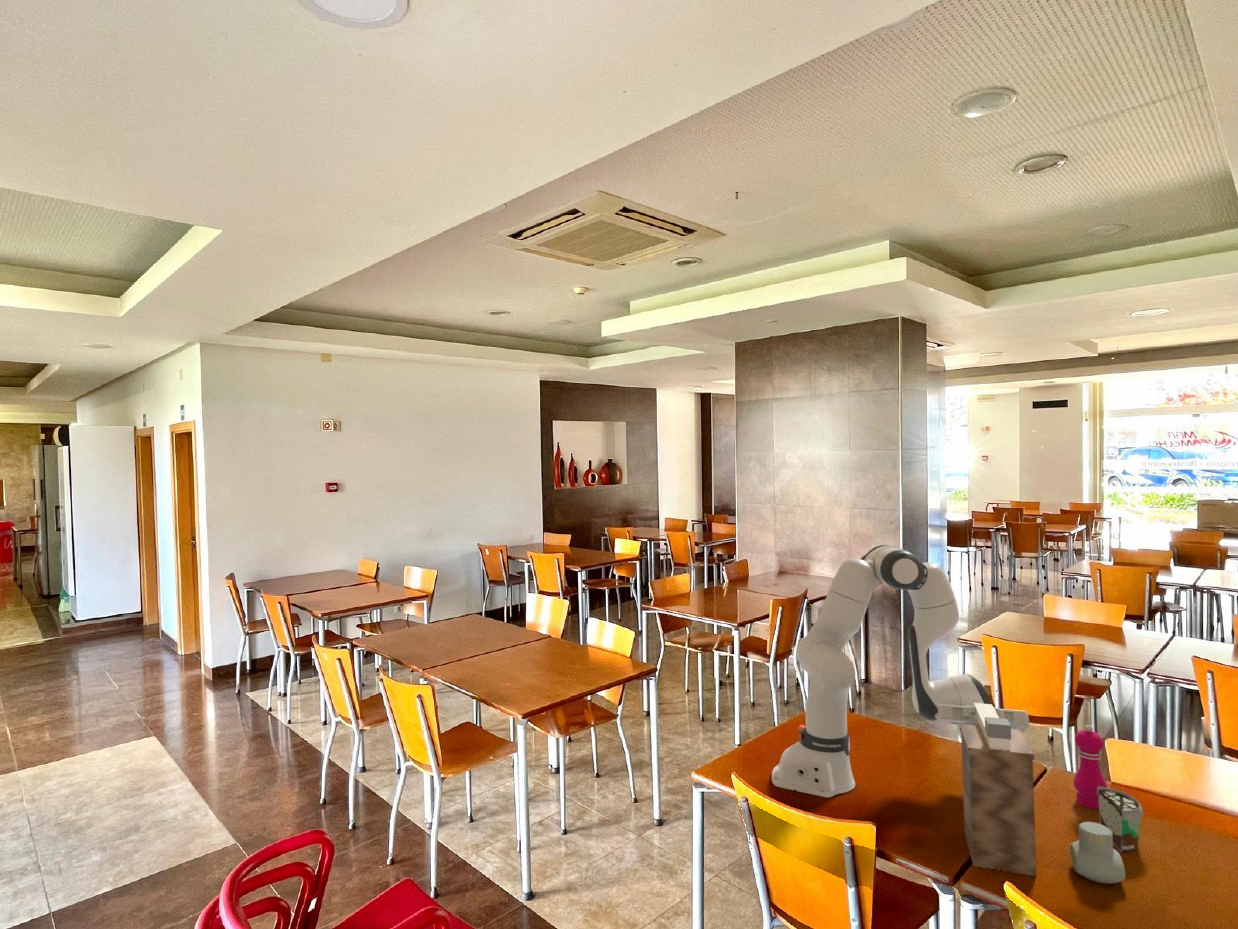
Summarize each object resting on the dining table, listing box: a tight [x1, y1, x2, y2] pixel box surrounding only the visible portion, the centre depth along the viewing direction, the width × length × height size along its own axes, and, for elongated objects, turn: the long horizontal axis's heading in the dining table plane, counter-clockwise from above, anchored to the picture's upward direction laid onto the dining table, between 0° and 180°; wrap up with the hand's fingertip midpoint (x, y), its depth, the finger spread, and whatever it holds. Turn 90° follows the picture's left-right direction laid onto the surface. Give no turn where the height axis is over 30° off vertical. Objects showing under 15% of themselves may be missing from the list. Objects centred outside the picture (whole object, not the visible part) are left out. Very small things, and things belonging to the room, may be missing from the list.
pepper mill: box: [1073, 724, 1109, 810], centre depth 174 cm, size 7×7×20 cm
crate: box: [960, 724, 1038, 877], centre depth 153 cm, size 13×14×26 cm
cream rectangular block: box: [974, 703, 1011, 751], centre depth 158 cm, size 4×22×6 cm, turn 160°
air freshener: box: [1069, 821, 1126, 885], centre depth 144 cm, size 11×8×10 cm
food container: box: [1097, 787, 1144, 854], centre depth 156 cm, size 12×6×10 cm, turn 168°
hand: (985, 711), depth 165 cm, fingers closed on cream rectangular block, 4 cm apart
